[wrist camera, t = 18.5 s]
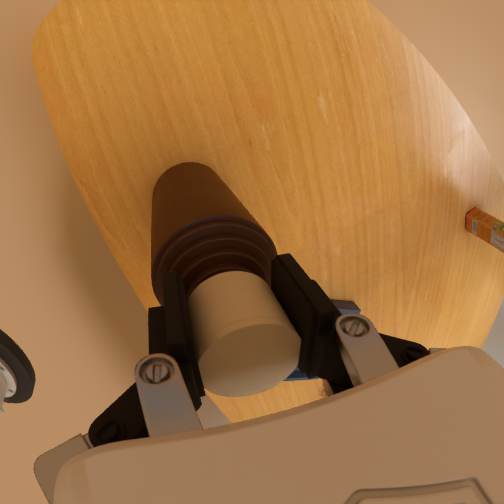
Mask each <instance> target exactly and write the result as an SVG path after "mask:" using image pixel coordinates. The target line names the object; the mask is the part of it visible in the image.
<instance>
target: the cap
mask: <svg viewBox="0 0 504 504" xmlns="http://www.w3.org/2000/svg"><path fill="white" fill-rule="evenodd" d="M187 307H188V313H189V319H190V324H191V330H192V335H193V340H194V346H195V351H196V356H197V361H198V365H199V370H200V374H201V378H202V382H203V386H204V388H205V389H207V390H208V391H210V392H212V393H214V394H217V395H221V396H226V397H243V396H249V395H254V394H257V393H260V392H263V391H266V390H268V389H270V388H272V387H274V386H276V385H277V384H279V383H280V382H282V381H283V380H284V379H286V378H287V377H288V376H289V375H290V374H291V373H292V372H293V371H294V370H295V368H296V367H297V365H298V361H299V354H300V347H301V338H300V336H299V334H298V333H297V331H296V330H295V328H294V326H293V325H292V323H291V321H290V320H289V318H288V316H287V315H286V313H285V311H284V310H283V308H282V306H281V305H280V303H279V302H278V300H277V298H276V297H275V295H274V293H273V292H272V290H271V288H270V287H269V285H268V284H267V283H266V282H265V281H264V280H263V279H262V278H260V277H258V276H257V275H254V274H252V273H248V272H243V271H230V272H224V273H220V274H217V275H214V276H212V277H210V278H208V279H207V280H205V281H204V282H202V283H201V284H200V285H199V286H198V287H197V288H196V289H195V290H194V291H193V292H192V294H191V295H190V297H189V299H188V301H187Z"/></svg>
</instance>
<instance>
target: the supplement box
mask: <svg viewBox="0 0 504 504" xmlns="http://www.w3.org/2000/svg"><path fill="white" fill-rule="evenodd" d="M466 230H467V231H469V232H471V233H472V234H474V235H476V236H477V237H479V238H481V239H482V240H484V241H486V242H487V243H489V244H491V245H492V246H494V247H496V248H497V249H499V250H500V251H502V252H503V253H504V222H502V221H500V220H498V219H496V218H495V217H493V216H491V215H489V214H487V213H485V212H483V211H482V210H480V209H478V208H476V207H475V208H474V209H473V210H471V211H470V212H469V213H467V214H466Z"/></svg>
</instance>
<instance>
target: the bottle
mask: <svg viewBox="0 0 504 504" xmlns="http://www.w3.org/2000/svg"><path fill="white" fill-rule="evenodd" d="M276 255H277V251H276V248H275V246H274V243H273V241H272V240H271V238H270V237H269V235H268V234H267V233H266V232H265V231H264V229H263V228H262V227H261V226H260V225H259V223H258V222H257V221H256V220H255V219H254V217H253V216H252V215H251V214H250V213H249V211H248V210H247V209H246V208H245V207H244V206H243V204H242V203H241V202H240V201H239V200H238V198H237V197H236V196H235V195H234V194H233V193H232V191H231V190H230V189H229V188H228V187H227V186H226V184H225V183H224V182H223V181H222V180H221V179H220V177H219V176H218V175H217V174H216V173H215V172H214V171H213V170H212V169H210V168H209V167H207V166H205V165H202V164H199V163H182V164H178V165H176V166H173V167H172V168H170V169H168V170H167V171H166V172H165V173H164V174H163V175H162V176H161V177H160V178H159V180H158V181H157V183H156V185H155V188H154V191H153V201H152V229H151V279H152V286H153V291H154V293H155V296H156V298H157V300H158V301H159V303H160V304H161V305H162V306H164V293H163V273H166V272H173V271H176V273H177V274H182V278H183V284H184V290H185V295H186V301H188V299H189V297H190V295H191V294H192V292H193V291H194V290H195V289H196V288H197V287H198V286H199V285H200V284H201V283H202V282H204V281H205V280H207V279H208V278H210V277H212V276H214V275H217V274H220V273H224V272H230V271H243V272H248V273H252V274H254V275H257V276H258V277H260V278H262V279H263V280H264V281H265V282H266V283H267V284H268V285H269V287H270V288H271V261H272V259H275V257H276Z"/></svg>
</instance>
